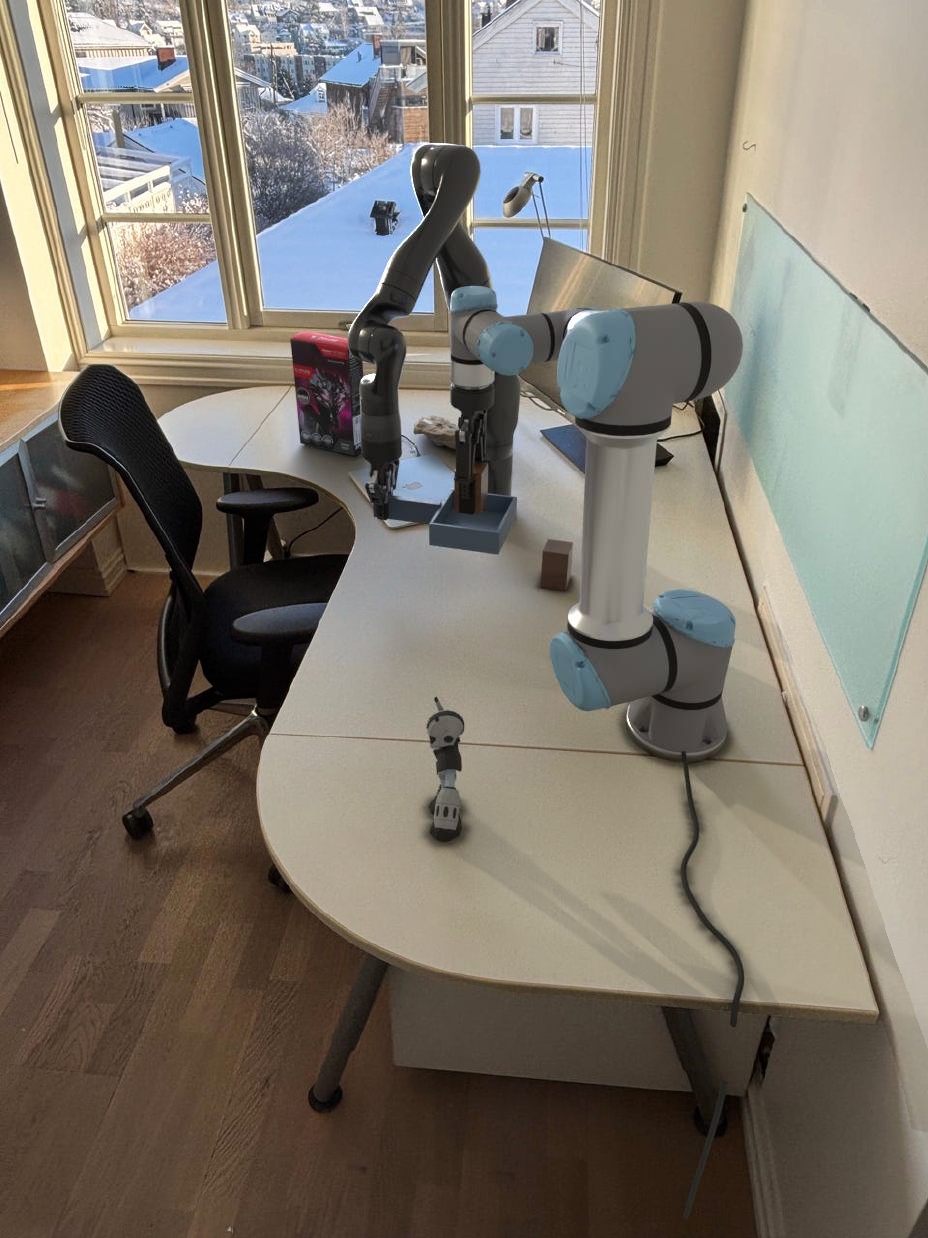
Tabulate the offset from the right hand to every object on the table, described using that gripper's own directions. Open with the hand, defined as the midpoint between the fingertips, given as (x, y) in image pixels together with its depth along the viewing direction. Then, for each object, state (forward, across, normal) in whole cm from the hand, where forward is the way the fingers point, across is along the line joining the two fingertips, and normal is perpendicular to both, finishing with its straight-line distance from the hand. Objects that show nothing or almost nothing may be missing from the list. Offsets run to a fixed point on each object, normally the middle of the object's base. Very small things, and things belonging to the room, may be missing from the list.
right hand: (470, 505), depth 169 cm
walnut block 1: (0, 0, 0) cm, 0 cm away
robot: (+17, -61, -13) cm, 65 cm away
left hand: (+6, +3, +18) cm, 19 cm away
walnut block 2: (+17, +5, -16) cm, 24 cm away
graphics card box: (+17, +54, +50) cm, 76 cm away
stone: (+17, +63, +22) cm, 69 cm away
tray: (+7, +3, +7) cm, 10 cm away
